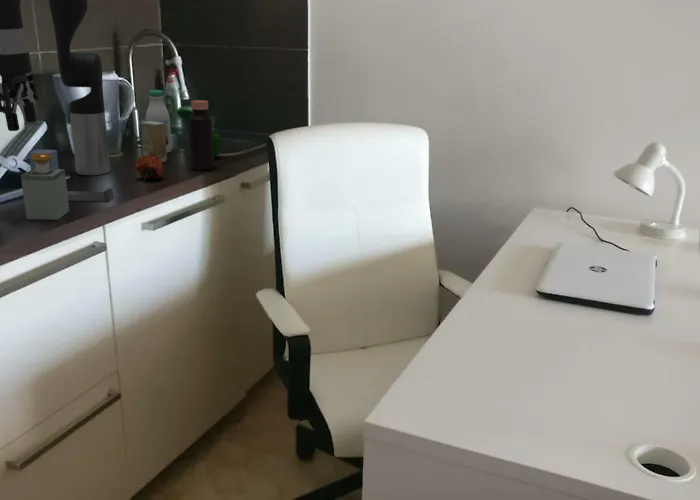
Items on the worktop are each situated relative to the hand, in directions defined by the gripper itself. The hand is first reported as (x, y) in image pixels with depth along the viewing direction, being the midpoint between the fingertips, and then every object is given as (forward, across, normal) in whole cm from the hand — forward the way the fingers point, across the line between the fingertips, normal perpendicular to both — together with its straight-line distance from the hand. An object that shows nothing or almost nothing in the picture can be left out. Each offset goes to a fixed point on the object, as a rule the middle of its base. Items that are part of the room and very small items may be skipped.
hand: (23, 126), depth 151 cm
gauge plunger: (+13, -2, -3) cm, 14 cm away
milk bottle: (+25, +72, -8) cm, 77 cm away
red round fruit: (+23, +34, -16) cm, 44 cm away
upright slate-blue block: (+21, +12, +3) cm, 24 cm away
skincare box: (+24, +57, -11) cm, 63 cm away
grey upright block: (+20, -2, -3) cm, 20 cm away
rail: (+21, +12, -3) cm, 24 cm away
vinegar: (+24, +50, -27) cm, 62 cm away
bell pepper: (+25, +65, -26) cm, 74 cm away
